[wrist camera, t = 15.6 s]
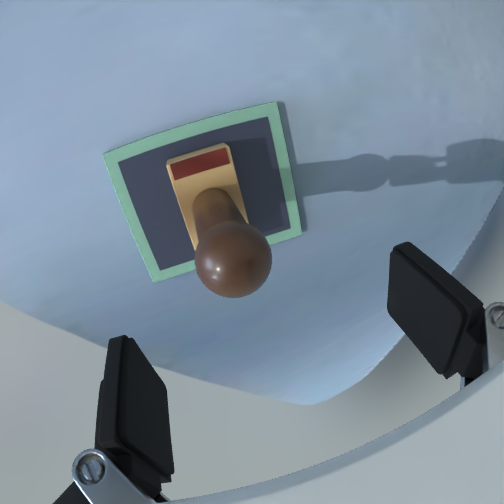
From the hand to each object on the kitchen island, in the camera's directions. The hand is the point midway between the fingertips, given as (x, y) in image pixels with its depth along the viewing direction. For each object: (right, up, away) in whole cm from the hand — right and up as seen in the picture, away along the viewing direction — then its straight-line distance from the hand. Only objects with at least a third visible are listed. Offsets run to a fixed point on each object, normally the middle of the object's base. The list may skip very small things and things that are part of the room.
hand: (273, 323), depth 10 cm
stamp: (-4, +7, +14) cm, 16 cm away
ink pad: (-4, +7, +15) cm, 17 cm away
